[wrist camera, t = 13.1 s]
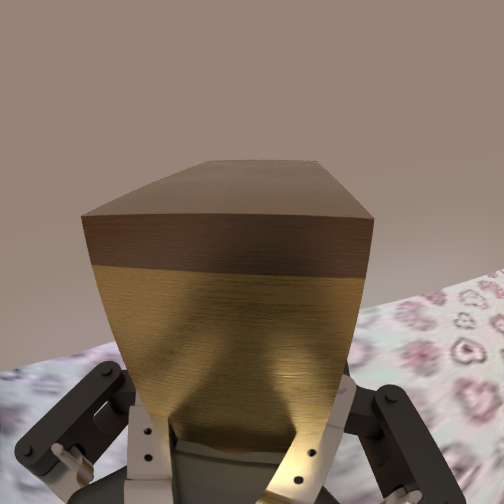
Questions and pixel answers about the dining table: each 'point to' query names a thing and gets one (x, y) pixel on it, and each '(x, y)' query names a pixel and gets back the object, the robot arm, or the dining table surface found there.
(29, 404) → the dining table surface
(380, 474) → the robot arm
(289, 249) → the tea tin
